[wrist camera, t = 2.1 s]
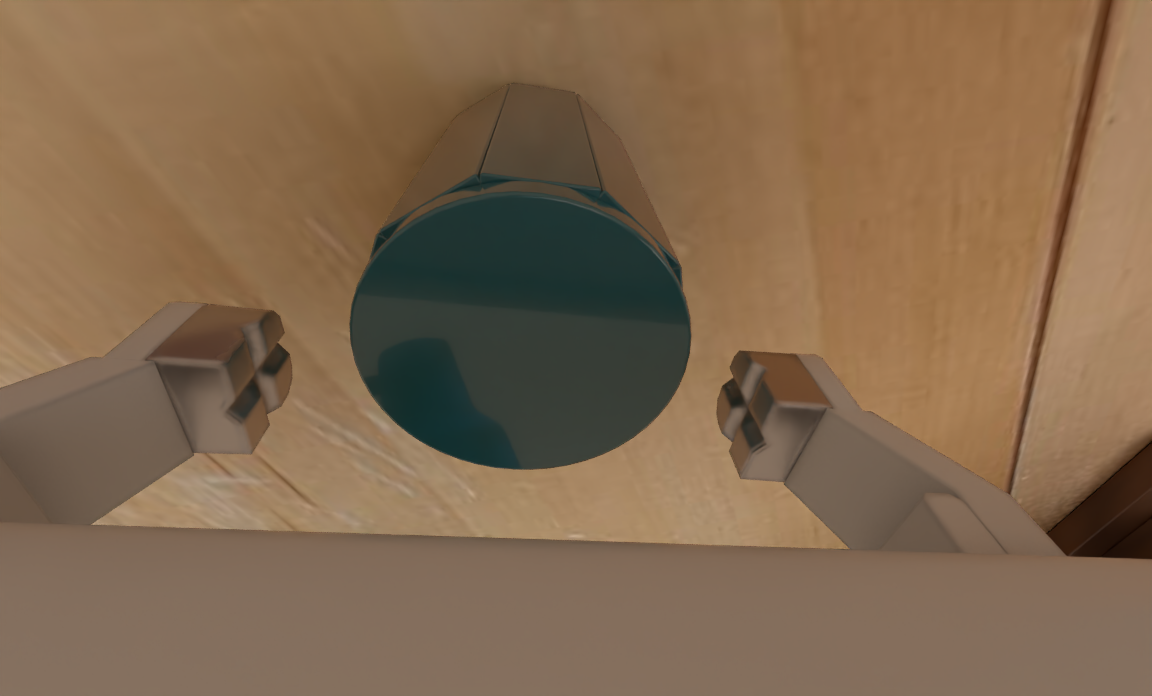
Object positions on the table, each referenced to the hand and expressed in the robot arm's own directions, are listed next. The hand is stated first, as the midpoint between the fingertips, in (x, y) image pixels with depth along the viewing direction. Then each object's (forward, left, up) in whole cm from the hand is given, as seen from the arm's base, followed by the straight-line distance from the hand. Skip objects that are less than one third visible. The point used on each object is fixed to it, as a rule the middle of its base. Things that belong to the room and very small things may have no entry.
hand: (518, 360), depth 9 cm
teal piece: (0, 0, -9) cm, 9 cm away
